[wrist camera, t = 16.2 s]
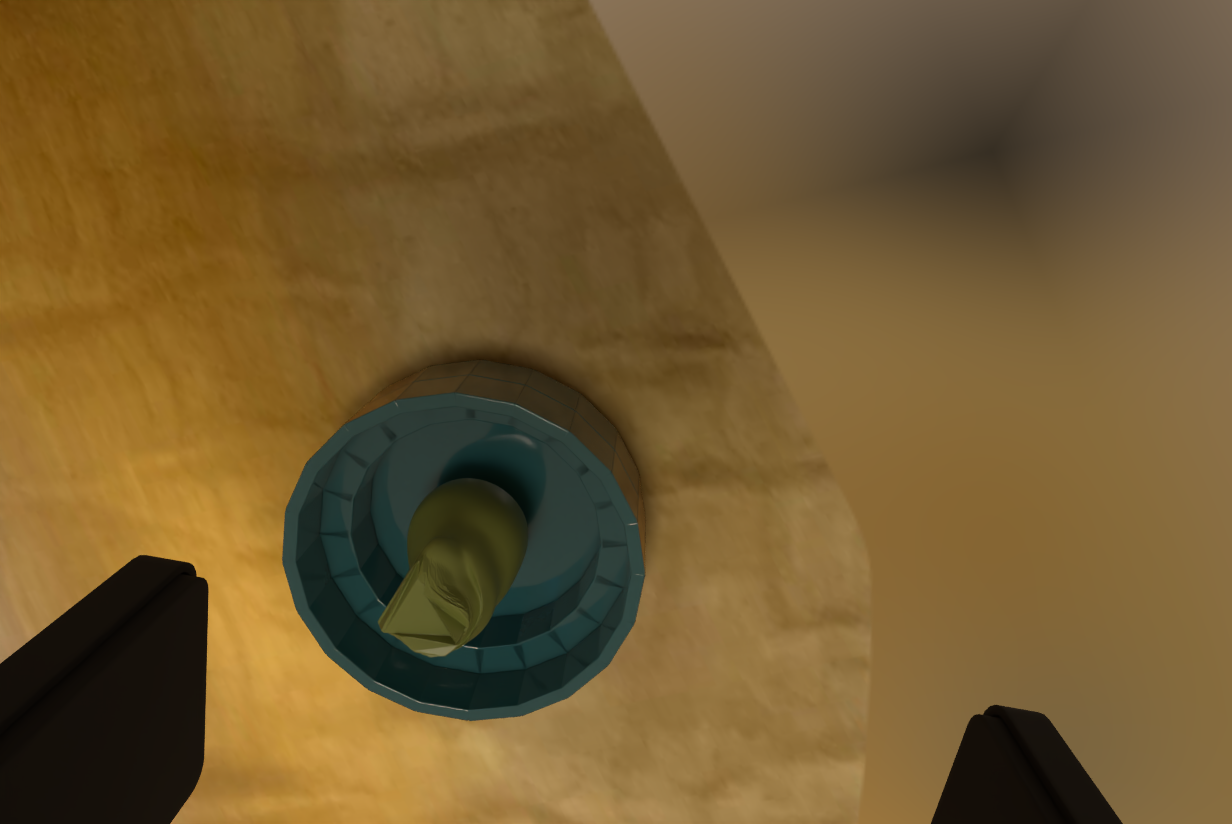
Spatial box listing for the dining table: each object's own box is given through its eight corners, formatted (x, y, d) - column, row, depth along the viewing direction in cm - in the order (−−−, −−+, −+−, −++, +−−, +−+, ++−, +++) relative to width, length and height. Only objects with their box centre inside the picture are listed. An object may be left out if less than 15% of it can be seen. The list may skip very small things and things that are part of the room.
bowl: (325, 615, 42) (274, 687, 37) (346, 331, 38) (292, 363, 32) (614, 666, 43) (609, 745, 37) (671, 389, 38) (675, 432, 32)
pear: (499, 583, 41) (453, 715, 31) (404, 531, 40) (328, 649, 30) (555, 496, 39) (525, 606, 30) (458, 440, 38) (395, 535, 29)
